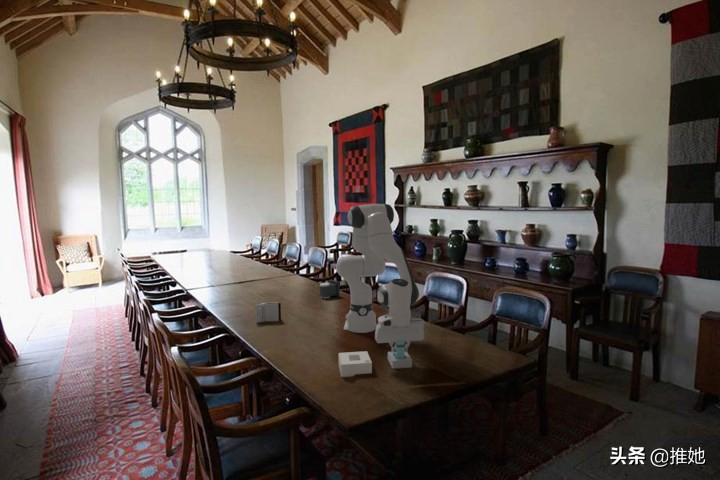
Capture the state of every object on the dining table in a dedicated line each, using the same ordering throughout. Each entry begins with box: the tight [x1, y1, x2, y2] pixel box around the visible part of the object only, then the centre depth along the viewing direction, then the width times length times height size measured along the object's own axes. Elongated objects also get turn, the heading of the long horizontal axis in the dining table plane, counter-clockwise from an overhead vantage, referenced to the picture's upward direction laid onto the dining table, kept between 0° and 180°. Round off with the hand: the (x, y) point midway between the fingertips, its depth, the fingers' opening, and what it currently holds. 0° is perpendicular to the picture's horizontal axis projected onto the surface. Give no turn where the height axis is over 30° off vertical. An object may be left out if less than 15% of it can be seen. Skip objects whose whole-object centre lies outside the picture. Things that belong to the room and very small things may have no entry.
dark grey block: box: [318, 279, 341, 300], centre depth 283 cm, size 11×13×11 cm
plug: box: [394, 341, 406, 359], centre depth 168 cm, size 4×3×10 cm
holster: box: [387, 351, 413, 369], centre depth 168 cm, size 10×8×4 cm
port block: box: [338, 350, 373, 378], centre depth 164 cm, size 12×12×5 cm
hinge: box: [254, 301, 282, 324], centre depth 229 cm, size 14×5×10 cm, turn 105°
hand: (399, 351), depth 168 cm, fingers open, 3 cm apart
